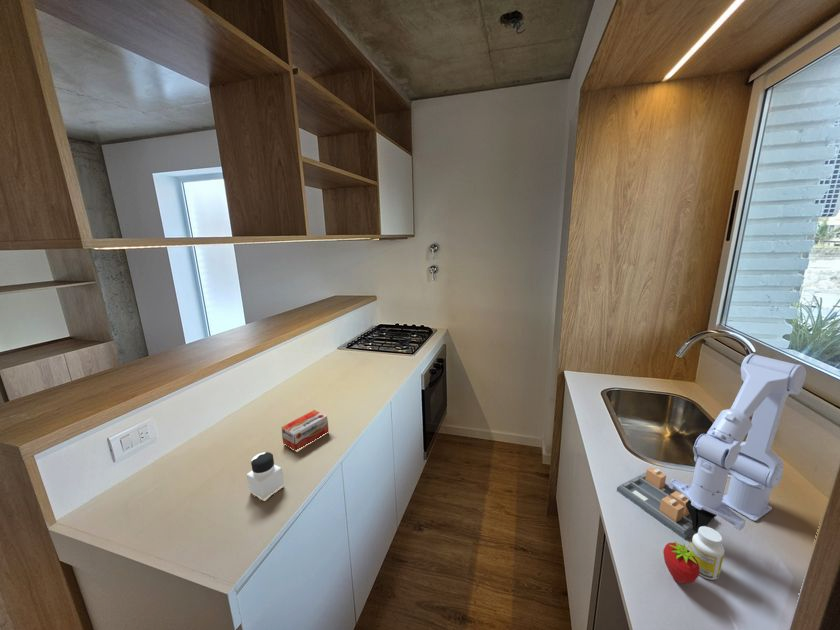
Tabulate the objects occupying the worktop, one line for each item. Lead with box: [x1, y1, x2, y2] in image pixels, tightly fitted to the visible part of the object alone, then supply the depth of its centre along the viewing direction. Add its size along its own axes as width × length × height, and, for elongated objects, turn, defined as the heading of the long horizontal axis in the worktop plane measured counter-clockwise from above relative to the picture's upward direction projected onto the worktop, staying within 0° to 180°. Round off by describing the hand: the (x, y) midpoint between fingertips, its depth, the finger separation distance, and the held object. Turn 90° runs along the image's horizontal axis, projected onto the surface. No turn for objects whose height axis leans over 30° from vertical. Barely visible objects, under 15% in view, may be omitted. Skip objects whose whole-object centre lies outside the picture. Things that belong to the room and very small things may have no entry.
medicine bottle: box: [246, 451, 285, 499], centre depth 101 cm, size 7×7×12 cm
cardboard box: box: [645, 466, 667, 489], centre depth 98 cm, size 3×4×5 cm, turn 25°
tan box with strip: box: [670, 491, 690, 517], centre depth 89 cm, size 3×4×5 cm, turn 25°
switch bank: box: [616, 472, 715, 540], centre depth 93 cm, size 13×18×2 cm
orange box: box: [659, 496, 684, 523], centre depth 87 cm, size 3×4×5 cm, turn 25°
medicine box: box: [281, 409, 329, 450], centre depth 127 cm, size 15×8×8 cm, turn 144°
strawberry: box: [662, 540, 701, 584], centre depth 72 cm, size 6×8×10 cm
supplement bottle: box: [689, 526, 725, 581], centre depth 74 cm, size 5×5×10 cm
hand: (698, 530), depth 82 cm, fingers closed
